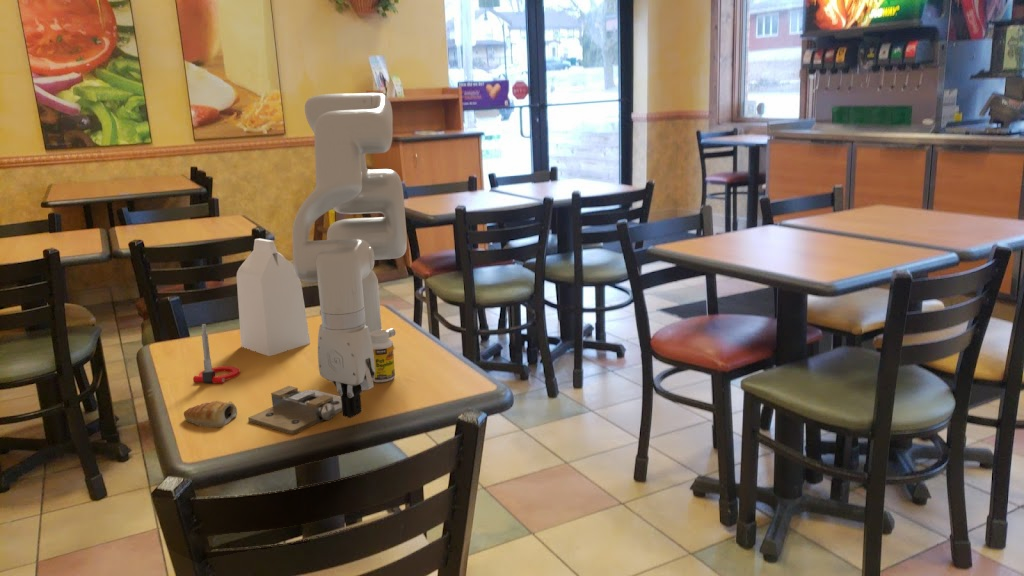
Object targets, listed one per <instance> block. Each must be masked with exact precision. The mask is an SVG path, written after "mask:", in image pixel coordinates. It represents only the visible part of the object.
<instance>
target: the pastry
mask: <svg viewBox="0 0 1024 576" xmlns="http://www.w3.org/2000/svg"><path fill="white" fill-rule="evenodd" d="M237 414H238V409H237V405H236V404H235V403H234V402H232V401H229V402H227V401H219V400H213V401H211V402H209V401H208V402H204V403H201V404H198V405H197V404H196V405H195V406H192V407H189V408H188V409H186V410H184V411H183V417H184V419H185V420H186V422H188V423H190V422H191V423H192V424H194V425H196V426H198V427H199V426H200V425H201V427H211V428H220V427H224V426H226V425H228V423H229V422H230V421H231V420H233V418H235V417H236V416H237ZM191 423H190V424H191Z"/></svg>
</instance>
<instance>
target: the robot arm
mask: <svg viewBox="0 0 1024 576" xmlns="http://www.w3.org/2000/svg"><path fill="white" fill-rule="evenodd" d="M304 114H305V118H306V121H307V123H308V125H309V127H310V128H311V131H312V132H313V134H314V135H313V136H314V157H315V161H314V164H315V165H314V166H315V188H314V189H313V191H312V192H311V193H309V195H308V196H307V197H306V198H305V200H304V201H303V202H302V204H301V205H300V207H299V209H298V211H297V213H296V215H295V218H294V221H293V226H292V264H293V265H294V270H295V273H296V275H297V277H298V278H299V279H300V280H301V281H303V282H305V283H317V287H318V297H319V298H318V299H319V306H320V310H319V314H320V317H321V318H320V319H321V324H320V325H319V327H318V328H319V329H318V334H317V335H318V336H317V362H318V372H319V375H320V376H321V377H322V378H324V379H326V380H327V381H329V382H331V383H333V385H335V387H336V391H337V393H338V396H341V402H342V411H341V412H342V417H345V418H346V417H347V418H348V419H351V418H354V417H355V416H357V415H359V414H361V413H362V402H361V393H363V391H369V390H370V389H373V388H374V382H373V381H372V378H373V377H374V376H375V361H374V353H373V347H372V342H371V337H370V332H372V331H376V330H383V329H382V317H381V316H382V315H381V302H380V292H379V281H378V276H377V275H376V273H375V272H374V270H373V269H374V266H375V262H376V261H377V260H379V261H380V260H382V261H383V260H391V259H400V258H401V257H403V256H404V255H405V254H406V252H407V249H408V247H407V246H408V242H407V241H408V234H407V222H406V210H405V196H404V188H403V184H402V179H401V177H400V175H399V174H398V172H397V171H395V170H393V169H389V168H378V169H376V168H375V169H373V168H372V169H369V168H368V167H367V161H366V160H367V159H366V155H367V154H383V153H387V152H388V151H389V150H390V149H391V146H392V143H393V136H394V135H393V134H394V131H393V127H394V126H393V121H394V120H393V108H392V103H391V101H390V99H389V98H388V96H387V95H386V94H384V93H381V92H360V93H359V92H357V93H354V92H353V93H345V92H344V93H328V94H327V93H325V94H318V95H315V96H312V97H309V98H308V99H307V100H306V101H305V103H304ZM331 210H333V211H335V213H338V214H342V215H359V214H361V215H362V214H382V215H383V216H379V217H377V216H375V217H355V218H352V217H351V218H344V219H340V220H337V221H335V222H332V223H331V225H329V227H328V229H327V232H326V239H323V240H321V239H319V240H310V239H309V238H310V231H311V228H312V226H313V225H314V223H315V222H316V221H317V220H318V219H319V218H320V217H321V216H323V215H324V214H325V213H327V212H330V211H331ZM386 331H388V335H389V339H390V338H392V337H394V336H395V335H396V330H395V328H393V327H392V328H388V329H386Z"/></svg>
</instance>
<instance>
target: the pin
mask: <svg viewBox="0 0 1024 576" xmlns="http://www.w3.org/2000/svg"><path fill="white" fill-rule="evenodd" d="M289 397H291V395H287V396H284V397H283V398H287V399H289ZM308 401H310V400H303V401H301V402H302V403H306V402H308ZM318 411H319V416H321V418H322V419H325V420H326V421H329V420H331V419H332V418H333V417H334V412H335V408H334V406H333V405H332V404H330V403H325V404H323V405H321V406H319V407H318Z"/></svg>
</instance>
